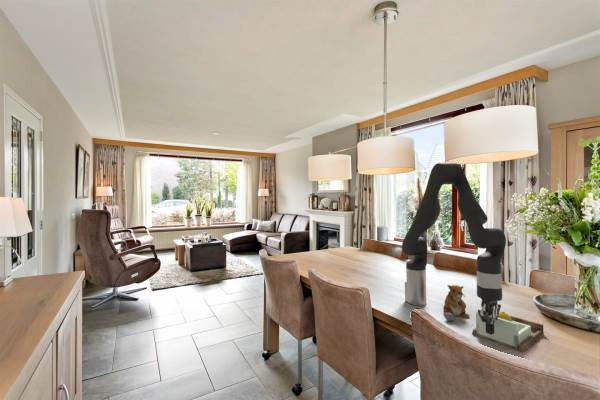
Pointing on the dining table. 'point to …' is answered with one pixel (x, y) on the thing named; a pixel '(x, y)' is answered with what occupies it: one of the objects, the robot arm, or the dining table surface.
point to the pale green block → (505, 331)
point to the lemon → (504, 316)
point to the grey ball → (449, 316)
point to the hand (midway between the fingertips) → (490, 333)
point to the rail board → (535, 335)
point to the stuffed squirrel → (455, 302)
